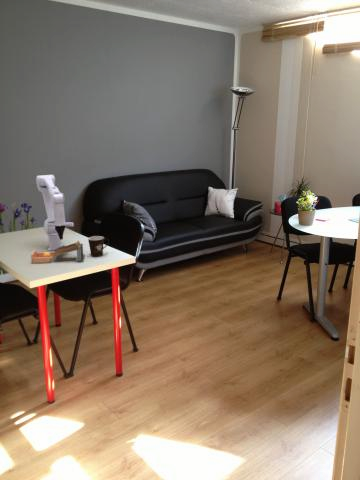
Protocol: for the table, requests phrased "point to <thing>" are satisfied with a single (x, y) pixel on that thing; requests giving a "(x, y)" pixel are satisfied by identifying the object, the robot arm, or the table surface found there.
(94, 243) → the coffee mug
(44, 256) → the ball
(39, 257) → the tray
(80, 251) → the pivot stand
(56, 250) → the tipping chute
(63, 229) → the robot arm
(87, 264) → the table surface
